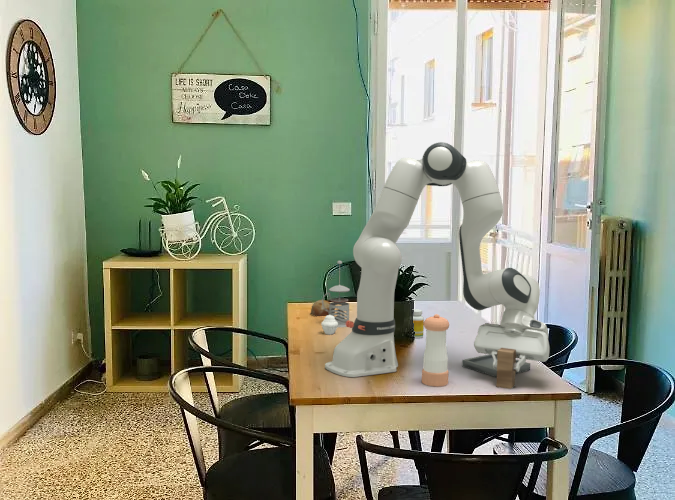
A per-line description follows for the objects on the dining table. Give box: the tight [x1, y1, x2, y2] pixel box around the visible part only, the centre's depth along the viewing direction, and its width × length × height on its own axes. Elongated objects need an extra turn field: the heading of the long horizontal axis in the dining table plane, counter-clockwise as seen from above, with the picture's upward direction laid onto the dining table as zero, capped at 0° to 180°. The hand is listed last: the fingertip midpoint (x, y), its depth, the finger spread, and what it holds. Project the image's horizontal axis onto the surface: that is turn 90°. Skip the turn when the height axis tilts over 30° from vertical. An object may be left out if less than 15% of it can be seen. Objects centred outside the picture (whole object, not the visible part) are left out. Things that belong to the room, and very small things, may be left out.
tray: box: [461, 354, 531, 378], centre depth 196 cm, size 14×14×2 cm
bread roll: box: [310, 299, 336, 317], centre depth 272 cm, size 10×10×8 cm
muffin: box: [320, 315, 338, 335], centre depth 238 cm, size 6×6×7 cm
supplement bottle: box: [413, 308, 425, 339], centre depth 234 cm, size 5×5×10 cm
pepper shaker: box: [421, 313, 450, 387], centre depth 180 cm, size 7×7×19 cm
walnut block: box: [496, 348, 517, 390], centre depth 178 cm, size 4×4×10 cm
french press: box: [321, 260, 350, 328], centre depth 252 cm, size 10×12×25 cm
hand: (505, 369), depth 178 cm, fingers closed on walnut block, 4 cm apart
